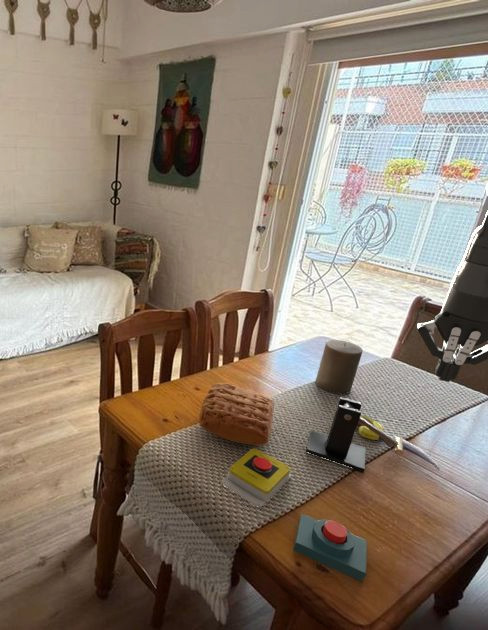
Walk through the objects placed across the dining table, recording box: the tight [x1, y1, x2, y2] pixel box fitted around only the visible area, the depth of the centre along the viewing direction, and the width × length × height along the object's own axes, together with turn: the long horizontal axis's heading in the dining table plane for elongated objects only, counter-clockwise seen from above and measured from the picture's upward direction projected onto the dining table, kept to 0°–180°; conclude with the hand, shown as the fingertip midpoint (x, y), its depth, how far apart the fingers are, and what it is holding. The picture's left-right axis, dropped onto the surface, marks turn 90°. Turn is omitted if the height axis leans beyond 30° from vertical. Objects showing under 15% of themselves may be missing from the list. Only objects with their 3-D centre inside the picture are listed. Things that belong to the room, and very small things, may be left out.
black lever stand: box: [305, 396, 366, 474], centre depth 104 cm, size 12×9×14 cm
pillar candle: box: [314, 339, 364, 395], centre depth 133 cm, size 10×10×15 cm
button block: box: [292, 513, 368, 583], centre depth 81 cm, size 11×8×4 cm
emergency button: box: [221, 447, 292, 508], centre depth 97 cm, size 9×4×15 cm
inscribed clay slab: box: [198, 382, 275, 446], centre depth 114 cm, size 22×17×8 cm
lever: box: [343, 402, 404, 456], centre depth 101 cm, size 14×5×2 cm, turn 58°
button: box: [323, 520, 348, 544], centre depth 80 cm, size 4×4×2 cm
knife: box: [334, 410, 441, 472], centre depth 111 cm, size 8×3×25 cm
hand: (443, 379), depth 79 cm, fingers closed
